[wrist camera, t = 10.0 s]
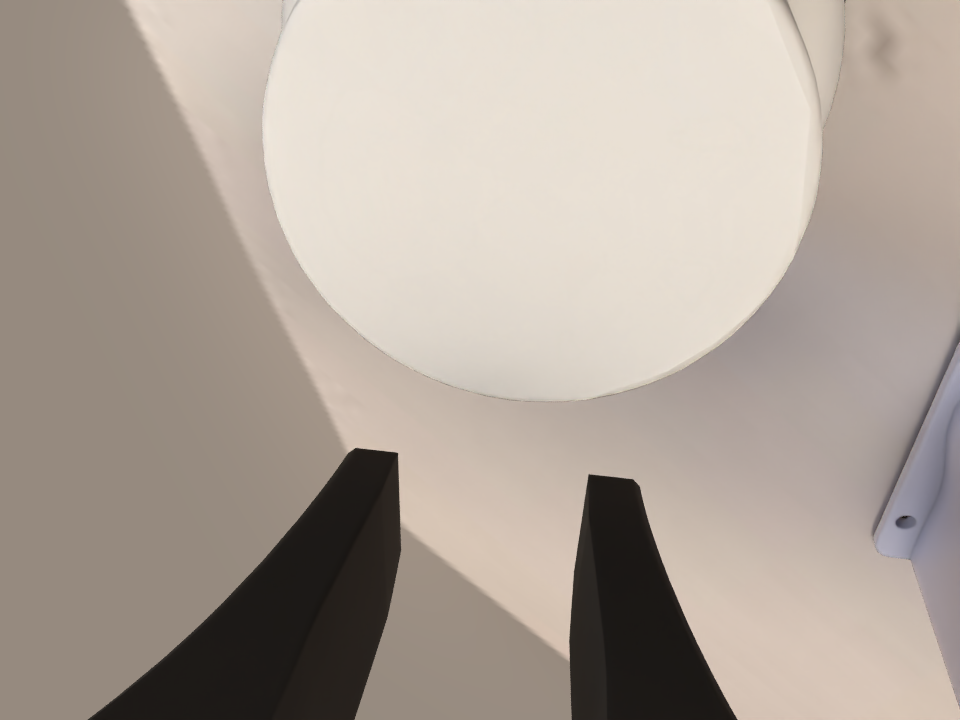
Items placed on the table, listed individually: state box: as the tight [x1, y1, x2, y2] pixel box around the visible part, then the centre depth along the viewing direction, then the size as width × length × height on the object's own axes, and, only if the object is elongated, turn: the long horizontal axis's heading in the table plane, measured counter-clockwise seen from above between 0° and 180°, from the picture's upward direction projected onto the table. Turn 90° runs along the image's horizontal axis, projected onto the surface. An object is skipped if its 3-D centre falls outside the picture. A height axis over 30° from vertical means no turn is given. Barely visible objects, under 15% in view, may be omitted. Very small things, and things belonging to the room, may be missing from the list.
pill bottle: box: [262, 0, 845, 402], centre depth 12 cm, size 6×6×11 cm
